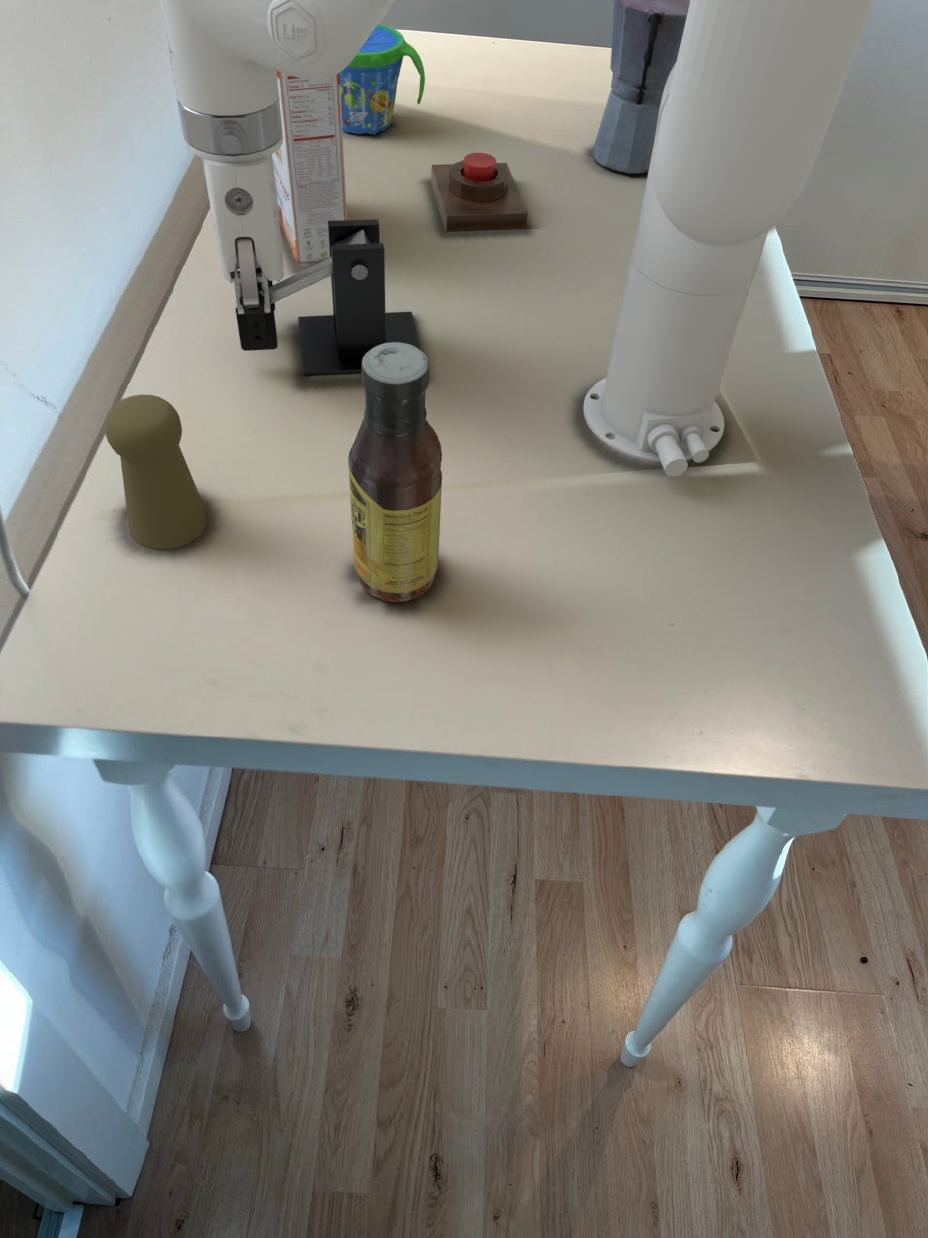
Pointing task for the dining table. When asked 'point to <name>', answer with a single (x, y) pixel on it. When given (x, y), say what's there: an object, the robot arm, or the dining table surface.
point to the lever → (310, 272)
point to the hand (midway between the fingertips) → (258, 327)
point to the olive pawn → (155, 473)
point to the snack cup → (375, 81)
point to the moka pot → (638, 80)
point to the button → (479, 167)
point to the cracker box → (310, 164)
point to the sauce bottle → (395, 477)
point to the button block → (477, 200)
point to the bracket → (353, 307)
